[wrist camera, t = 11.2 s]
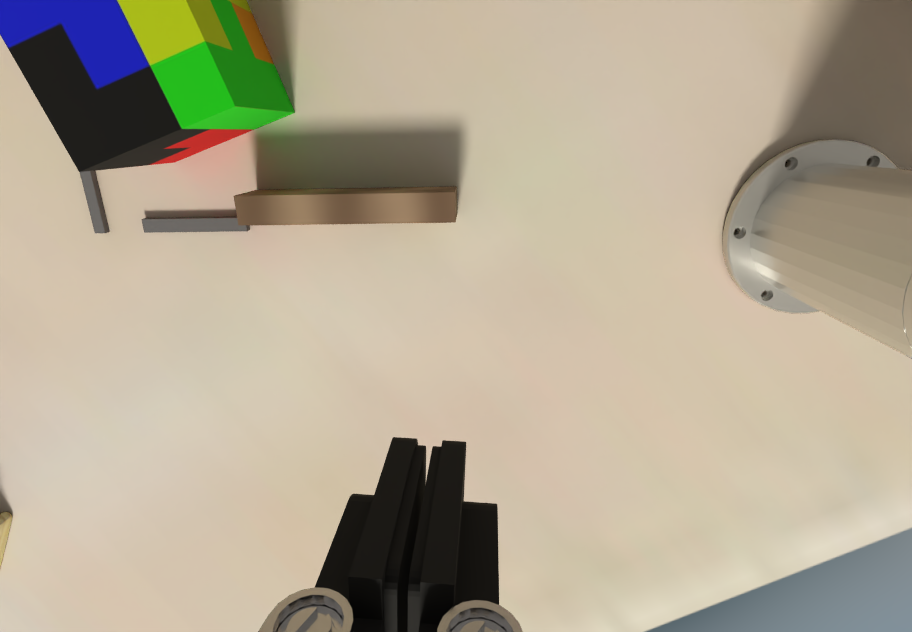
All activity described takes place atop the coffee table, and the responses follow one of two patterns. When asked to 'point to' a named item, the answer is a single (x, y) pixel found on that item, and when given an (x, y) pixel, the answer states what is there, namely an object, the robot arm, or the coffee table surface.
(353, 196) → the chute
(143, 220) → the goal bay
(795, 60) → the coffee table surface
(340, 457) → the coffee table surface
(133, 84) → the puzzle toy
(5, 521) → the toy sofa
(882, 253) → the robot arm
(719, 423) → the coffee table surface
